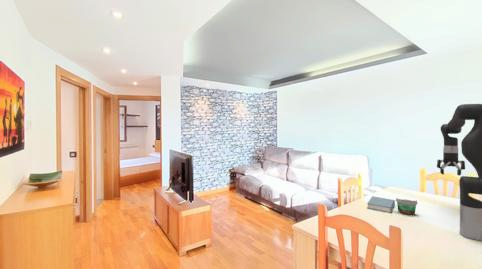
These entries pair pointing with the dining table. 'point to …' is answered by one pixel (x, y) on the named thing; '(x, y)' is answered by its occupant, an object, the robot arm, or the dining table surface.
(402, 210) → the food container
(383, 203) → the book
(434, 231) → the dining table surface
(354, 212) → the dining table surface
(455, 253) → the dining table surface
